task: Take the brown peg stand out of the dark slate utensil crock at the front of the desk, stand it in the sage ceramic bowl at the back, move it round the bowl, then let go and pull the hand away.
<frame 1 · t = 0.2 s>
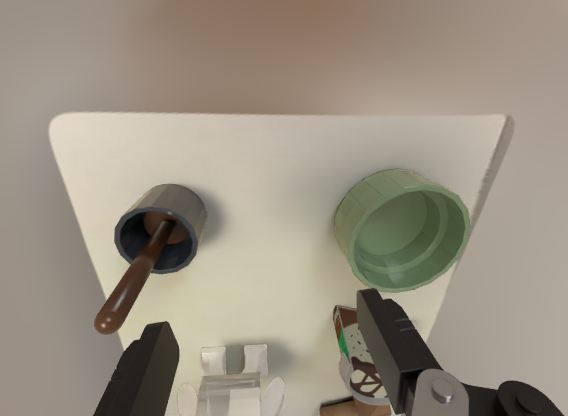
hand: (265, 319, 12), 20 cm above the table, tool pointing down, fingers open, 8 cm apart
crock: (173, 214, 31), on the table
wooden block set: (334, 401, 50), on the table
brown peg stand: (172, 216, 30), resting on crock
food container: (354, 324, 42), on the table
bowl: (384, 218, 34), on the table
toy robot: (235, 354, 42), on the table
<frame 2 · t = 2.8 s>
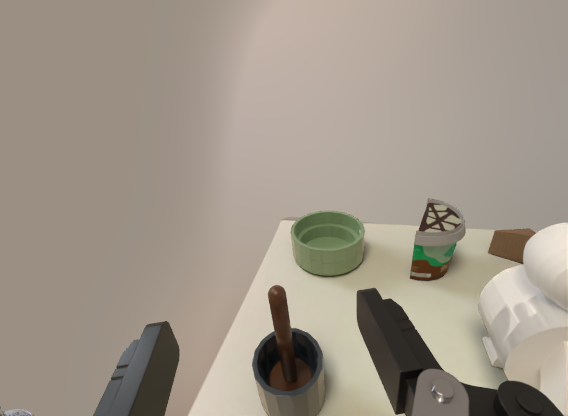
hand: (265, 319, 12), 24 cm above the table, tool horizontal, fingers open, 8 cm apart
crock: (292, 390, 31), on the table
brown peg stand: (292, 387, 31), resting on crock
food container: (434, 267, 47), on the table
bowl: (327, 254, 53), on the table
toy robot: (519, 383, 30), on the table
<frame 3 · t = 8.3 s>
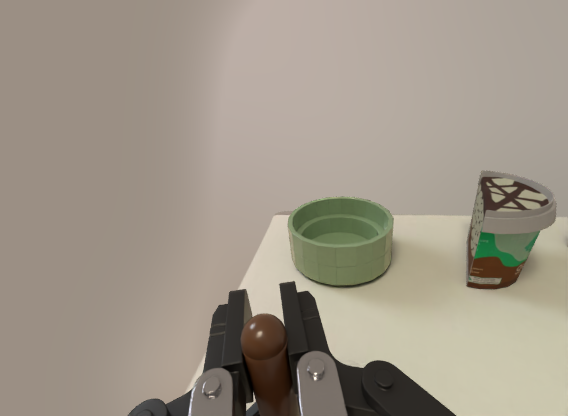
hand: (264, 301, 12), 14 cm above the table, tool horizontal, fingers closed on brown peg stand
food container: (497, 269, 32), on the table
bowl: (339, 255, 38), on the table
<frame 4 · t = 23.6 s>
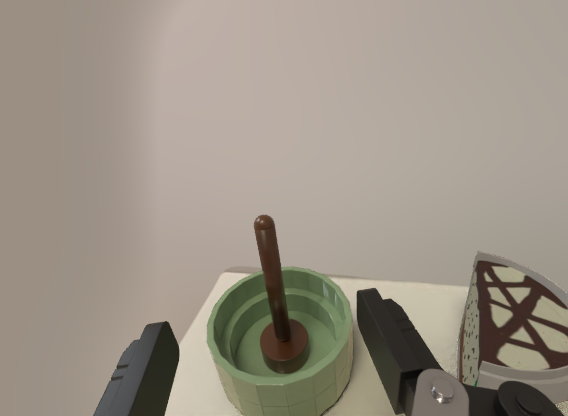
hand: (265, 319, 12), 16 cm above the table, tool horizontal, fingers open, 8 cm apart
brown peg stand: (286, 351, 27), point 1 cm above the table, touching bowl
food container: (500, 399, 22), on the table
bowl: (285, 354, 28), on the table
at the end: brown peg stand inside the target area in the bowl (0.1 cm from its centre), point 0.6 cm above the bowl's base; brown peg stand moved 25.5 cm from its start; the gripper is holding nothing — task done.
